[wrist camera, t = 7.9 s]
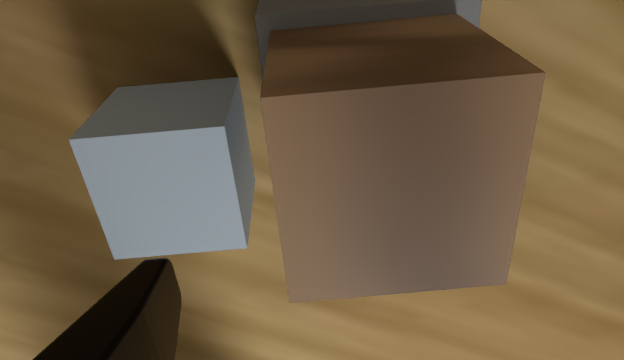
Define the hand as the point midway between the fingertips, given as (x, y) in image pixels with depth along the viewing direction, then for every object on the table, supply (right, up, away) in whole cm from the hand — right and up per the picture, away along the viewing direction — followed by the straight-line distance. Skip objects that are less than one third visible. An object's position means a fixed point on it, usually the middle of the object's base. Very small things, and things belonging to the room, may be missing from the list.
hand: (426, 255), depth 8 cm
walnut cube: (0, +3, +5) cm, 7 cm away
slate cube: (-7, +3, +12) cm, 15 cm away
